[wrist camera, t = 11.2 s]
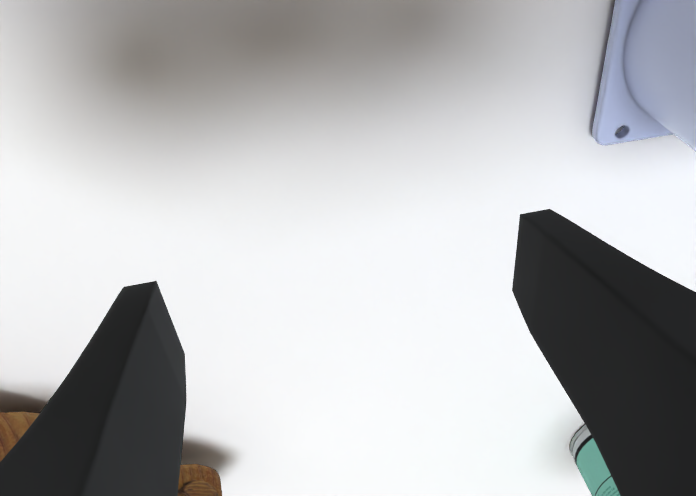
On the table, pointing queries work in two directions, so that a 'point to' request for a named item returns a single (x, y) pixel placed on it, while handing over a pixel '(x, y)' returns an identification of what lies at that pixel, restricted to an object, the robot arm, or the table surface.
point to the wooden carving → (194, 480)
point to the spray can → (592, 464)
